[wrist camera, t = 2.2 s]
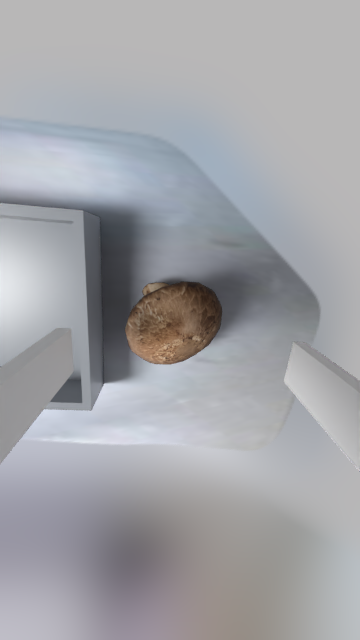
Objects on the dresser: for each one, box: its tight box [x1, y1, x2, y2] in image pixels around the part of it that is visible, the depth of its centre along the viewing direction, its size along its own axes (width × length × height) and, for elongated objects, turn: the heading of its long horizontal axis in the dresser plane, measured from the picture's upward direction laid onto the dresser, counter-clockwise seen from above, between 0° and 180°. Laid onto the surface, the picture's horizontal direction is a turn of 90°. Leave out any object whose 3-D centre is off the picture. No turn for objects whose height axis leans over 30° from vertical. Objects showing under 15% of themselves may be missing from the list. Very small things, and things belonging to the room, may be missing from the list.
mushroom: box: [125, 282, 222, 364], centre depth 19 cm, size 8×8×6 cm
